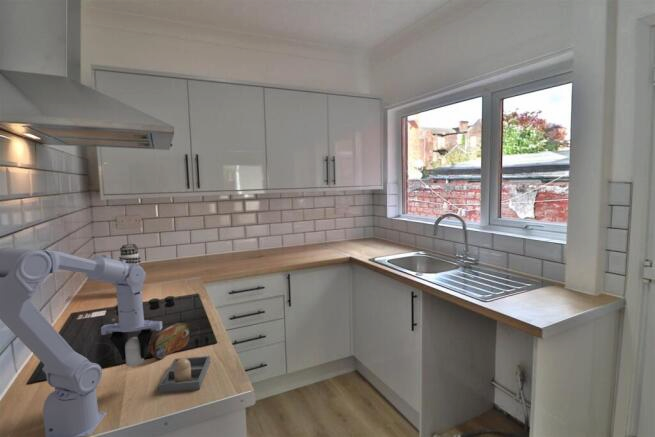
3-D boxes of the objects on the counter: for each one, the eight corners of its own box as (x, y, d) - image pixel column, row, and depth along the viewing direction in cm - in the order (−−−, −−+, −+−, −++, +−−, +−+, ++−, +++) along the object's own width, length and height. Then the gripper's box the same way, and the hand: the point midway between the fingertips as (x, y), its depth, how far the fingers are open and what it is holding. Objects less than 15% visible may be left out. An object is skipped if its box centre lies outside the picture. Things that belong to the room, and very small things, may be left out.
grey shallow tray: (159, 394, 92) (158, 385, 92) (175, 367, 106) (174, 358, 106) (199, 390, 94) (199, 381, 93) (210, 364, 107) (209, 355, 107)
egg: (123, 367, 92) (121, 342, 92) (130, 359, 96) (128, 335, 96) (140, 365, 93) (138, 340, 92) (146, 357, 97) (144, 333, 96)
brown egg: (173, 388, 94) (171, 363, 93) (177, 379, 98) (175, 356, 98) (189, 386, 95) (187, 362, 94) (193, 378, 99) (191, 354, 98)
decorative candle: (117, 297, 172) (113, 246, 169) (130, 291, 181) (126, 243, 178) (135, 297, 171) (130, 246, 168) (147, 291, 180) (143, 243, 177)
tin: (156, 364, 108) (154, 337, 107) (149, 362, 109) (147, 336, 108) (192, 342, 122) (190, 319, 121) (185, 341, 123) (183, 318, 122)
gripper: (164, 301, 98) (168, 348, 99) (108, 304, 96) (112, 352, 97) (155, 310, 91) (159, 360, 92) (94, 314, 89) (99, 365, 91)
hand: (134, 357), depth 94 cm, fingers closed on egg, 4 cm apart
